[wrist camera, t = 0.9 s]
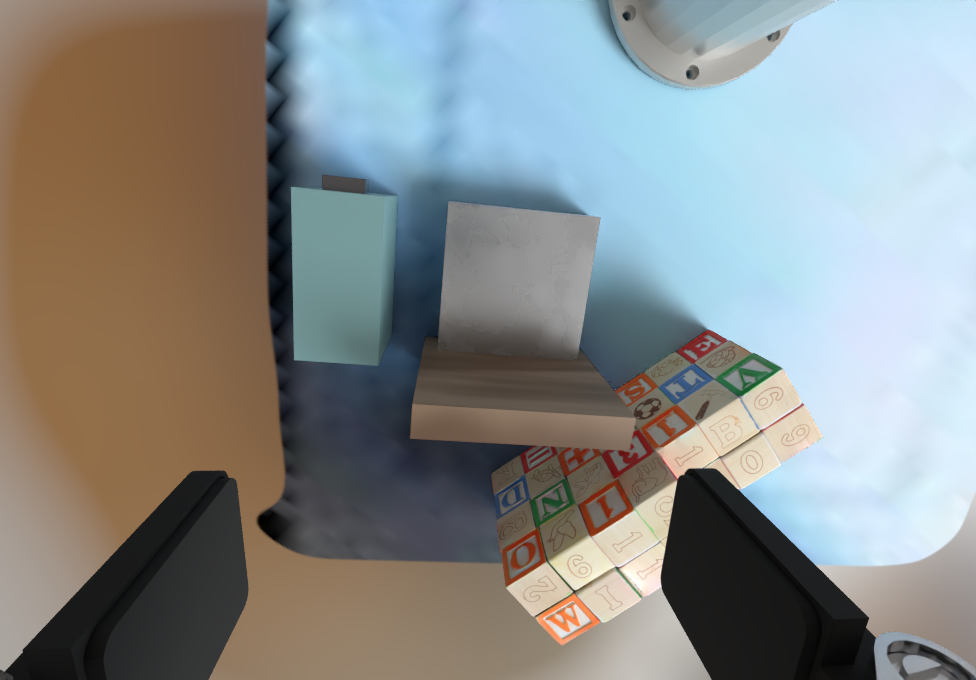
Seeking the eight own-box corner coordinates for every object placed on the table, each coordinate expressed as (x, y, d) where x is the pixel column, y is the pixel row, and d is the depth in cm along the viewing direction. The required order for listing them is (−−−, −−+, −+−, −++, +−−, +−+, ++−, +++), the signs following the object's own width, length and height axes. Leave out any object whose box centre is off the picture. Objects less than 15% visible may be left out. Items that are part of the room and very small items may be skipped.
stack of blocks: (707, 325, 37) (823, 386, 26) (742, 383, 39) (866, 465, 27) (489, 474, 40) (503, 590, 28) (531, 522, 42) (561, 651, 30)
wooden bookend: (434, 199, 33) (424, 203, 22) (601, 216, 34) (676, 229, 23) (423, 361, 37) (410, 438, 25) (576, 372, 38) (629, 450, 26)
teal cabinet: (324, 175, 32) (290, 171, 26) (398, 183, 33) (384, 181, 26) (324, 328, 35) (294, 359, 29) (392, 333, 36) (378, 365, 29)
